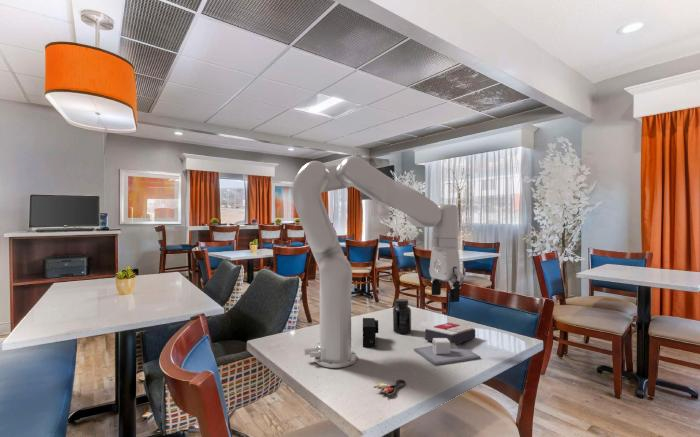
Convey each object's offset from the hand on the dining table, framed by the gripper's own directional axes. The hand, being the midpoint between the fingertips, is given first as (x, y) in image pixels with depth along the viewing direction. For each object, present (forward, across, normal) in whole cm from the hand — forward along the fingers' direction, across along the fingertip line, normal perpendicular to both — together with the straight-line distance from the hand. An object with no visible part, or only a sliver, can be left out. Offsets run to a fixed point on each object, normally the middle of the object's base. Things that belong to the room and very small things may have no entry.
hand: (444, 298), depth 102 cm
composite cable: (+18, +15, -25) cm, 34 cm away
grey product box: (+17, -10, +9) cm, 22 cm away
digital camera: (+18, -17, -18) cm, 31 cm away
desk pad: (+18, 0, +1) cm, 18 cm away
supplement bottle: (+18, -24, -2) cm, 30 cm away
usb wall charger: (+17, 0, 0) cm, 17 cm away
